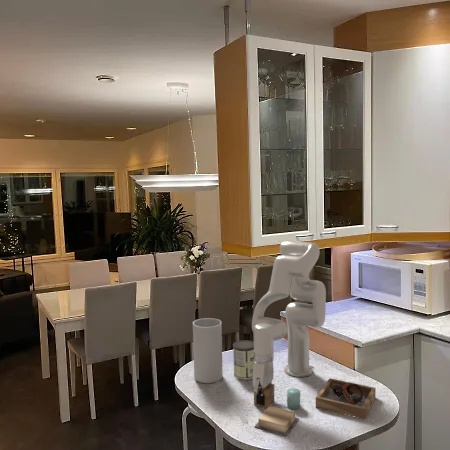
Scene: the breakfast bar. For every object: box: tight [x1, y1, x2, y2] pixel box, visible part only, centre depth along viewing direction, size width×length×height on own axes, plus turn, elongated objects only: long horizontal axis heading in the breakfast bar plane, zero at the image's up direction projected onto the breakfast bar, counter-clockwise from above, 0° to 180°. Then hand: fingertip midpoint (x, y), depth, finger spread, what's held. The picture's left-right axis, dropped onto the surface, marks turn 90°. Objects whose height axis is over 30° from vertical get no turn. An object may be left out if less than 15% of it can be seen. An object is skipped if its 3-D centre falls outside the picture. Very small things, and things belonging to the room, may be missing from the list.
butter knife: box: [231, 405, 249, 424], centre depth 172 cm, size 1×27×3 cm
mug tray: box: [315, 377, 377, 420], centre depth 172 cm, size 18×18×4 cm
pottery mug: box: [331, 382, 364, 406], centre depth 173 cm, size 12×10×8 cm
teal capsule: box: [286, 387, 301, 411], centre depth 170 cm, size 5×5×6 cm
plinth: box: [254, 405, 300, 437], centre depth 158 cm, size 12×12×3 cm
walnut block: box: [253, 383, 275, 409], centre depth 173 cm, size 6×6×7 cm
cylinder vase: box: [192, 317, 224, 384], centre depth 195 cm, size 12×12×25 cm
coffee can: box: [232, 339, 255, 381], centre depth 197 cm, size 10×10×14 cm
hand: (264, 400), depth 173 cm, fingers closed on walnut block, 6 cm apart
